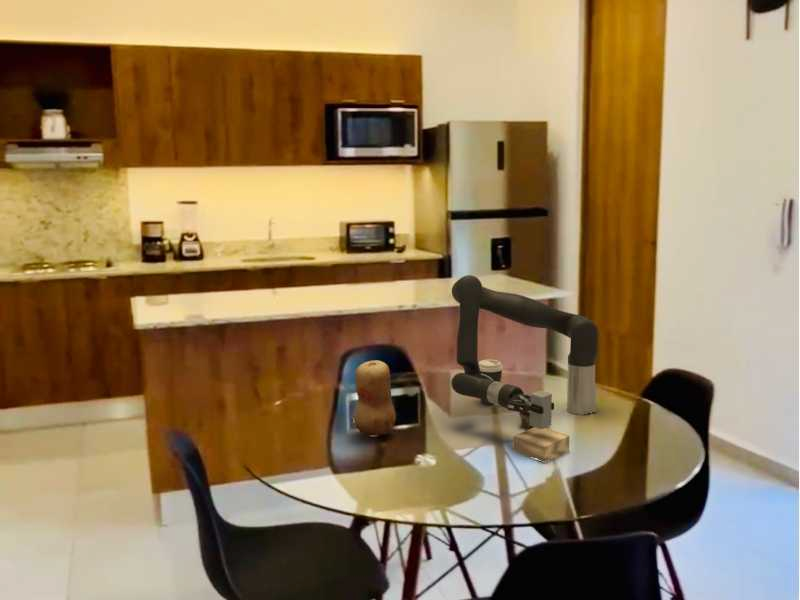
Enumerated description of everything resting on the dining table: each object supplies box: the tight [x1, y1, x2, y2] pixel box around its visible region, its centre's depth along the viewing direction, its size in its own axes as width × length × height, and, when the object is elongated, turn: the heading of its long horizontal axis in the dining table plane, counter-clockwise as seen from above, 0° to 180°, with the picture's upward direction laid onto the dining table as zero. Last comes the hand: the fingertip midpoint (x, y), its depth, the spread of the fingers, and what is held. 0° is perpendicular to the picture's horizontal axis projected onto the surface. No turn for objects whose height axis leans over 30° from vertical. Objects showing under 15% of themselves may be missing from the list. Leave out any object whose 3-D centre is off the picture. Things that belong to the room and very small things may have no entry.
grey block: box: [529, 390, 553, 429], centre depth 233 cm, size 4×4×10 cm
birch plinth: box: [512, 427, 570, 463], centre depth 235 cm, size 12×12×5 cm
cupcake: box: [518, 411, 534, 431], centre depth 255 cm, size 10×10×10 cm
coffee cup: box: [478, 359, 504, 406], centre depth 279 cm, size 10×10×15 cm
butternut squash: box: [353, 359, 397, 436], centre depth 249 cm, size 14×13×25 cm
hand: (548, 408), depth 231 cm, fingers closed on grey block, 4 cm apart
